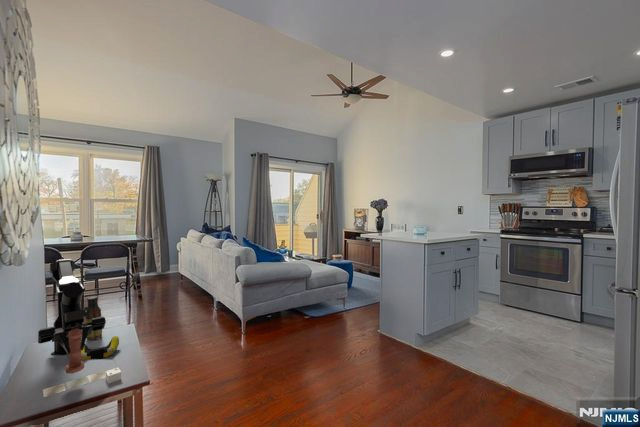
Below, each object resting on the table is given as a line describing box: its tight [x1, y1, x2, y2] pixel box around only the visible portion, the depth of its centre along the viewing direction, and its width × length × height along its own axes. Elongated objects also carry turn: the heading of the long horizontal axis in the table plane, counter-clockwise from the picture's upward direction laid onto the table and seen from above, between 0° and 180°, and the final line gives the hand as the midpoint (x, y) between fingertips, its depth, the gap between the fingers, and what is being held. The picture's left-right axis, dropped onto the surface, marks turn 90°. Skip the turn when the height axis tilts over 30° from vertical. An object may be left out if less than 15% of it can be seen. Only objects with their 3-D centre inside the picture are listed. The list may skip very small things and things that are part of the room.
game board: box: [42, 370, 106, 398], centre depth 110 cm, size 19×12×1 cm, turn 135°
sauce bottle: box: [84, 295, 103, 341], centre depth 144 cm, size 6×6×20 cm
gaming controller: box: [81, 335, 120, 360], centre depth 129 cm, size 15×6×10 cm
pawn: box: [65, 328, 85, 374], centre depth 107 cm, size 5×5×15 cm
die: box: [105, 367, 122, 385], centre depth 111 cm, size 4×4×4 cm
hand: (75, 351), depth 106 cm, fingers closed on pawn, 3 cm apart
